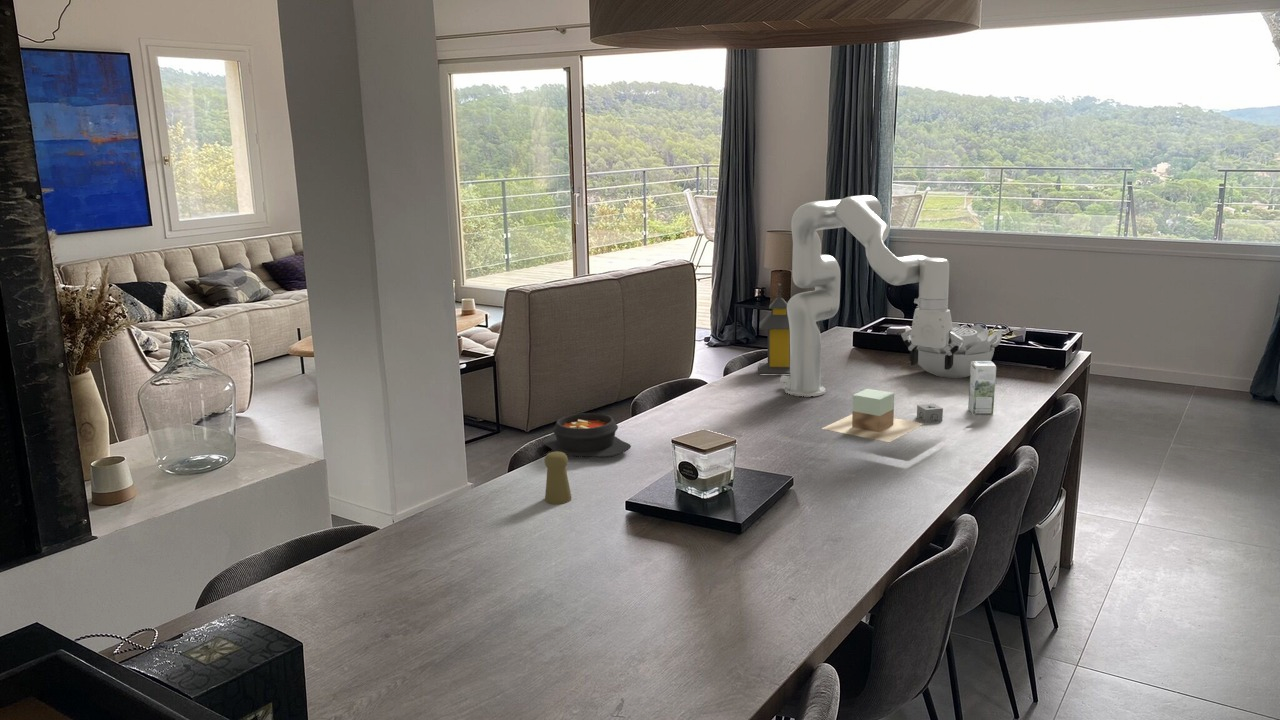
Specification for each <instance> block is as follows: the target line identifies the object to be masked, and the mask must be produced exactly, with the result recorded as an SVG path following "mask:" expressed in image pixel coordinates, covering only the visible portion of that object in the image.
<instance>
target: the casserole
mask: <svg viewBox="0 0 1280 720" xmlns="http://www.w3.org/2000/svg"><path fill="white" fill-rule="evenodd" d="M618 429H619V426H618V425H617V423H616V421H615V420H614V418H613V417H612V416H611V415H609V414H605V413H599V412H597V413H596V412H582V413H574V414H572V413H571V414H569V415H565V416H562V417H560V418H558V419H557V420H556V422H555V426H554V427H552V433H553V434H552V435H550V436H548V437H546V438H545V439H544V440H543V441H542V442H541V443H542V445H544V446H546V447H548V448H549V449H551V451H552V452H563V453H565V454H566V456H567V457H571V458H572V457H573V458H593V457H594V458H610V457H615V456H618V455H622V454H623V453H625V452H627V451H629V450H630V449H631V447H632V445H631V444H630V443H628V442H627V441H624V440H621V439H620V438H618V437H617V436H616V432H617V431H618Z"/></svg>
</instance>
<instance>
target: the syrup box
mask: <svg viewBox="0 0 1280 720" xmlns="http://www.w3.org/2000/svg"><path fill="white" fill-rule="evenodd" d="M996 377H997V365H996V364H995V363H994V362H993V361H992V360H991V361H971V368H970V376H969V389H968V407H967V408H968V410H969V412H971V414H973V415H994V406H995V392H996V390H995V389H996Z"/></svg>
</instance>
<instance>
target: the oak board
mask: <svg viewBox="0 0 1280 720" xmlns="http://www.w3.org/2000/svg"><path fill="white" fill-rule="evenodd" d="M924 424H925V423H923V422H917V421H911V420H907V419H901V418H895V417H894V420H893V425H892V426H891V427H889V428H887V429H885V430H883V431H881V432H875V431H870V430H865V429H859V428H854V427H852V413H851V414H850V415H847V416H845V417H843V418H841V419H839V420H836V421H835V422H832V423H830V424H828V425H826V426H824V427H822V428H821V430H825V431H831V432H836V433H840V434H845V435H850V436H855V437H860V438H865V439H870V440H873V441H874V440H875V441H880V442H885V443H891V442H893V441H895V440H897V439H899V438H901V437H903V436H904V435H906V434H909V433H910V432H911V431H913V430H916V429H917V428H919V427H920V426H922V425H924Z"/></svg>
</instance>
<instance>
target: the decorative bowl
mask: <svg viewBox="0 0 1280 720" xmlns="http://www.w3.org/2000/svg"><path fill="white" fill-rule="evenodd" d="M911 329H912V328H910V327H907V326H905V331H904V332H906V331H909V330H911ZM952 332H953V333H955V334H956V335H958V336H959V337H961V338H962V339H964V342H963V344H962V346H961V347H960V349H959V350H958V351H957V352H955V353H954V357H953V366H952V368H950V369H948V370H945V369H944V368H945V355H947V353H946V352H945V350H944V349H943V348H933V347H924V346H918V347H917V349H918V363H917V364H916V365H918V366H919V367H920V368H922V369H923V370H924V371H926V372H927V373H929V374H931V375H933V376H937V377H940V378H946V379H963V378H968V377H970V368H971V361H991V362H992V359H993V356H994V354H995V353H994V352H995V348H996V347H998V346H999V345H1000V343H1002V339H1003V329H998V330H996V331H995V332H993V333H991V334H990V335H989V333H990V332H989V329H984V327H983V326H981V325H980V324H977V325H973V326H971V327H969V328H967V327H962V326H961V325H960V324H959V323H957V322H954V321H952ZM909 339H910V340H911V335H909ZM951 345H952V347H954V346H955V345H956V341H954V340H953V339H952V343H951Z"/></svg>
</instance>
